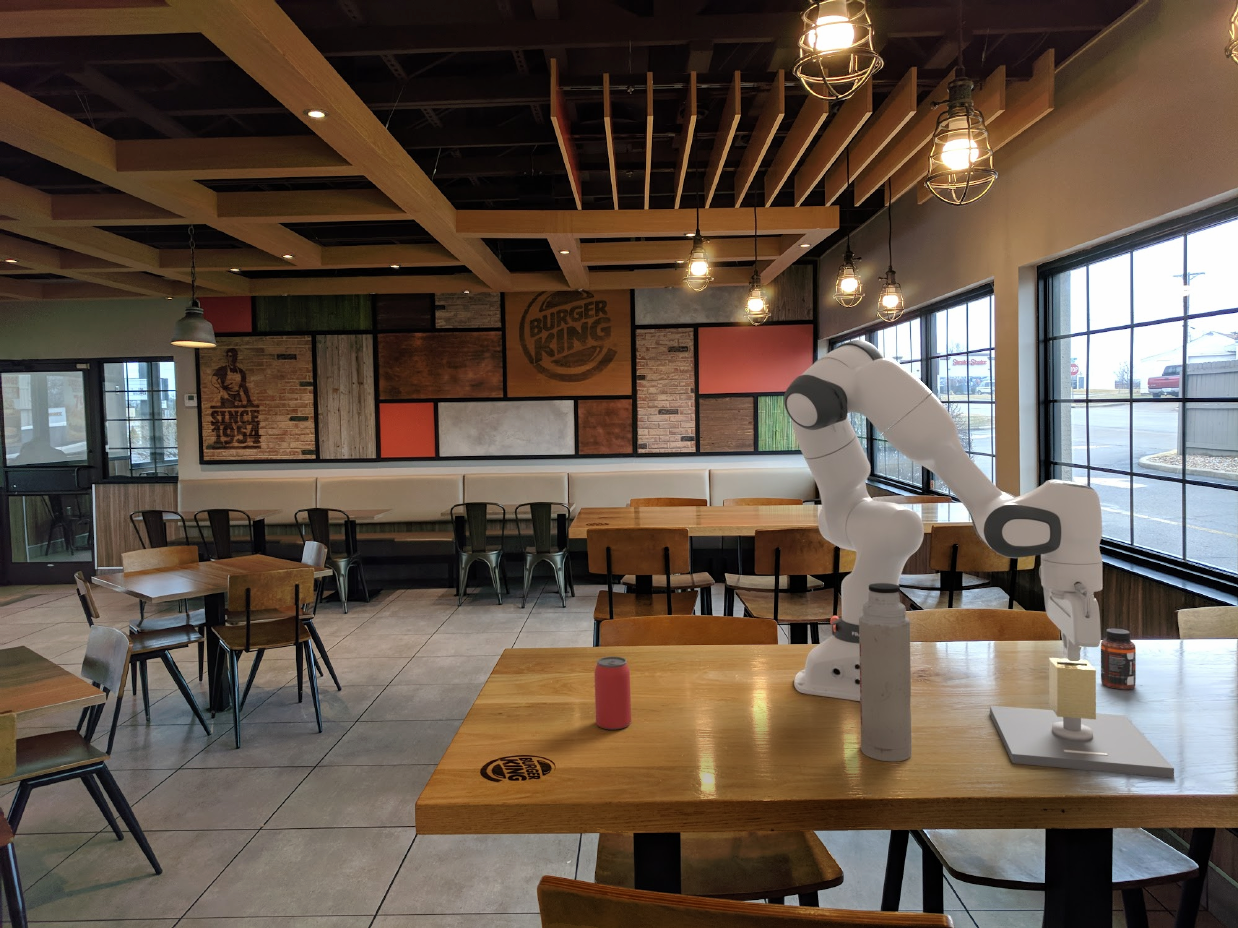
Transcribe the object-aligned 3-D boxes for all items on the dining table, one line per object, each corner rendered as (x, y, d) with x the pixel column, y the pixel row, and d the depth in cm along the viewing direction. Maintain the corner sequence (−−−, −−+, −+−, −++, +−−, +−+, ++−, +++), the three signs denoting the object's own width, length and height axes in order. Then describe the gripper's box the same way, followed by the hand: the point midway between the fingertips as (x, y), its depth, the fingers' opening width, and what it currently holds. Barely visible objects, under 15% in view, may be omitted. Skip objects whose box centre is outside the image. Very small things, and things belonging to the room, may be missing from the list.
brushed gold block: (1057, 716, 127) (1057, 666, 127) (1049, 704, 133) (1049, 656, 132) (1095, 719, 126) (1095, 668, 125) (1086, 707, 131) (1086, 658, 131)
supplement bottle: (1141, 691, 153) (1141, 634, 152) (1108, 689, 154) (1108, 634, 153) (1127, 681, 158) (1127, 627, 158) (1095, 680, 160) (1095, 626, 159)
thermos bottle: (853, 753, 127) (850, 586, 126) (871, 738, 133) (869, 578, 132) (901, 765, 122) (899, 591, 121) (918, 749, 128) (916, 583, 127)
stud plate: (1012, 762, 122) (1011, 704, 122) (989, 713, 143) (989, 663, 143) (1174, 777, 116) (1174, 715, 115) (1125, 723, 137) (1125, 670, 136)
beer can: (600, 733, 139) (598, 667, 139) (592, 720, 145) (590, 657, 145) (635, 728, 141) (633, 663, 140) (625, 715, 147) (623, 654, 147)
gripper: (1112, 590, 117) (1112, 679, 118) (1076, 566, 137) (1077, 643, 137) (1065, 589, 119) (1066, 677, 120) (1037, 565, 139) (1037, 641, 139)
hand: (1071, 658), depth 129 cm, fingers closed
